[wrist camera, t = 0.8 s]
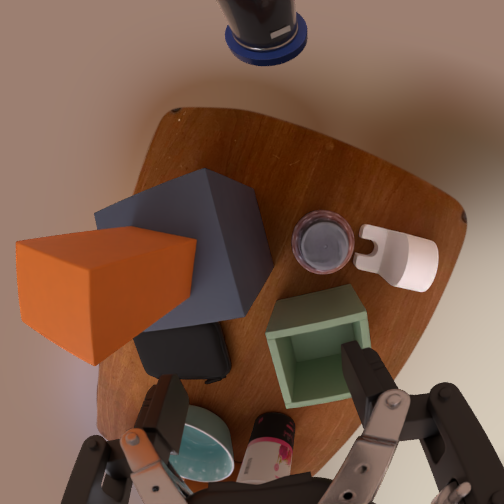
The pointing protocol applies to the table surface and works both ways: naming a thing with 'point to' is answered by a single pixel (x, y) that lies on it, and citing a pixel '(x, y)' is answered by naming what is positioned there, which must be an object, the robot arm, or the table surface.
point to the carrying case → (185, 352)
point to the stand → (204, 242)
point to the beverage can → (268, 449)
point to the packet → (101, 286)
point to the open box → (315, 343)
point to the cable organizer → (399, 258)
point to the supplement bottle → (322, 242)
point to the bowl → (204, 448)
